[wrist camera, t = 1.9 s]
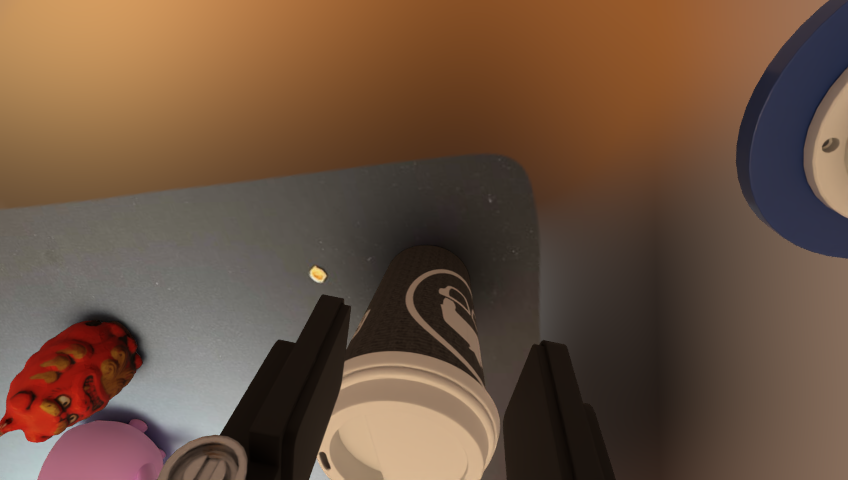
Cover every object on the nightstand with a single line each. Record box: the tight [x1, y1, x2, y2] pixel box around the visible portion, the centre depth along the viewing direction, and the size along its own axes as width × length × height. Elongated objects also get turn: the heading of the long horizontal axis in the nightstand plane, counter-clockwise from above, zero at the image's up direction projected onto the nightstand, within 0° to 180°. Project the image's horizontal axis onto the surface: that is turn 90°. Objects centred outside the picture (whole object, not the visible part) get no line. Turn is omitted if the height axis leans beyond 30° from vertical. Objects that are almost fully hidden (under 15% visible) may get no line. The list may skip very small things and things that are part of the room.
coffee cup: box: [317, 245, 500, 480], centre depth 26 cm, size 10×10×15 cm
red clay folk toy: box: [0, 320, 143, 443], centre depth 33 cm, size 8×7×15 cm
